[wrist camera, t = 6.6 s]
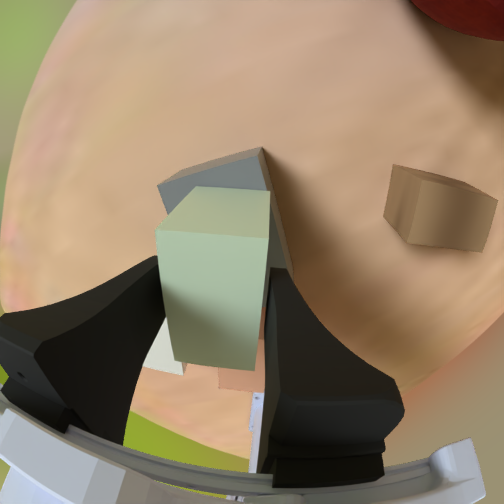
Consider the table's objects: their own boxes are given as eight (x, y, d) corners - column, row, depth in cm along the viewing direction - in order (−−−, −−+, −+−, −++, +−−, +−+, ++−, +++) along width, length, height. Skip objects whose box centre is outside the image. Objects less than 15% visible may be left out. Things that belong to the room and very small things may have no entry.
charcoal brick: (292, 265, 19) (295, 301, 15) (222, 278, 20) (210, 315, 16) (262, 146, 15) (257, 155, 12) (182, 169, 16) (157, 185, 13)
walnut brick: (463, 181, 14) (498, 200, 11) (452, 226, 16) (482, 252, 12) (392, 163, 15) (421, 179, 11) (382, 215, 16) (406, 243, 13)
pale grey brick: (195, 339, 23) (183, 375, 19) (158, 332, 23) (142, 366, 19) (192, 281, 20) (176, 317, 16) (149, 275, 20) (126, 308, 16)
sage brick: (260, 298, 15) (254, 371, 11) (198, 292, 15) (174, 360, 11) (270, 191, 12) (268, 238, 8) (195, 186, 12) (155, 229, 8)
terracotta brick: (266, 355, 23) (263, 393, 19) (226, 351, 23) (219, 388, 19) (273, 301, 20) (272, 340, 16) (226, 296, 20) (216, 334, 17)
